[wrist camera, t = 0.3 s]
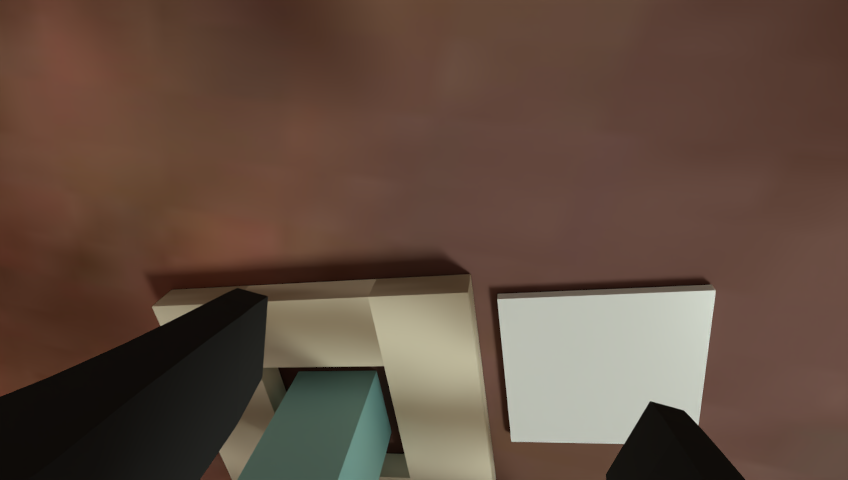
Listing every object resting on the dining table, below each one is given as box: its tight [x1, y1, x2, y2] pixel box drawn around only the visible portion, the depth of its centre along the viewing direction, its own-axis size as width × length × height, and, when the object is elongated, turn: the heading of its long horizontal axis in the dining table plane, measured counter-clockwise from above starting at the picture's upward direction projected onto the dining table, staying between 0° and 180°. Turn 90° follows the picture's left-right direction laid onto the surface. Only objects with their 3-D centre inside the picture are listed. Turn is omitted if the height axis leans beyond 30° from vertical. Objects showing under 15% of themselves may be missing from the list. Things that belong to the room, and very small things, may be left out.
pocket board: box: [152, 274, 496, 480], centre depth 23 cm, size 14×14×1 cm
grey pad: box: [497, 285, 716, 444], centre depth 20 cm, size 8×8×1 cm
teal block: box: [237, 371, 391, 480], centre depth 21 cm, size 4×4×7 cm
